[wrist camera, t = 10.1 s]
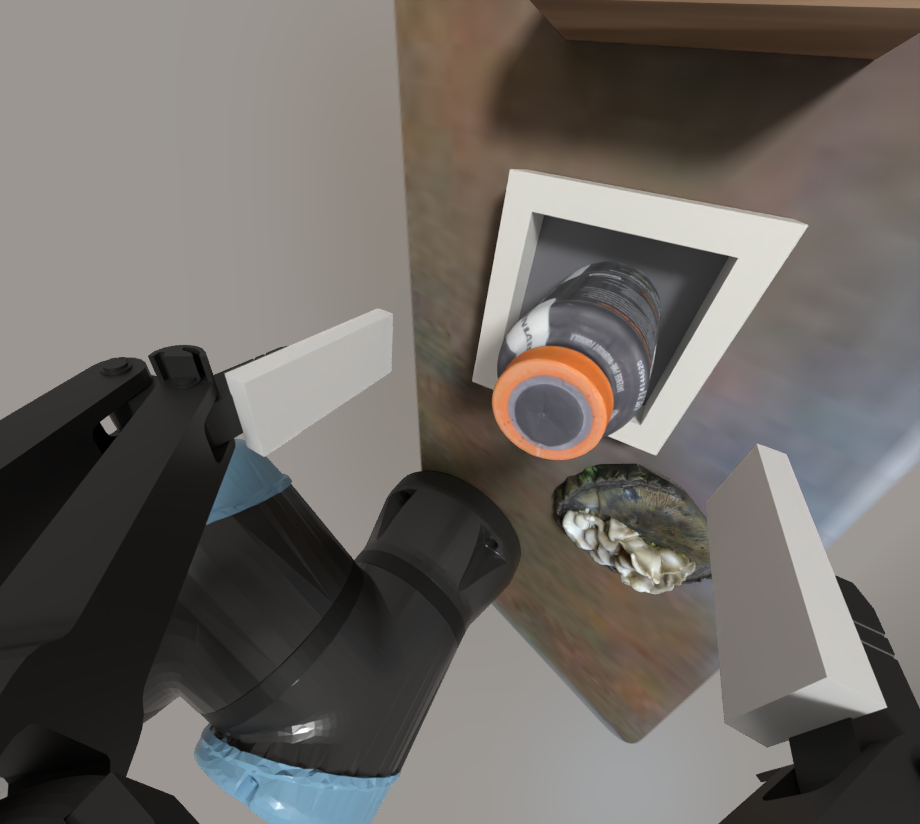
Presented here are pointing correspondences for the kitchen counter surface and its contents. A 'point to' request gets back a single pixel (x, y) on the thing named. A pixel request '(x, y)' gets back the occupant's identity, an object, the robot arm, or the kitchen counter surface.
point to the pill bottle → (578, 362)
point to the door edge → (742, 24)
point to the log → (636, 525)
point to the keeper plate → (654, 254)
